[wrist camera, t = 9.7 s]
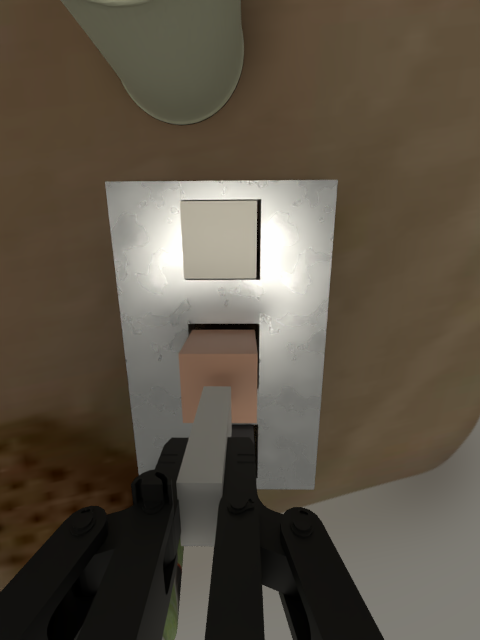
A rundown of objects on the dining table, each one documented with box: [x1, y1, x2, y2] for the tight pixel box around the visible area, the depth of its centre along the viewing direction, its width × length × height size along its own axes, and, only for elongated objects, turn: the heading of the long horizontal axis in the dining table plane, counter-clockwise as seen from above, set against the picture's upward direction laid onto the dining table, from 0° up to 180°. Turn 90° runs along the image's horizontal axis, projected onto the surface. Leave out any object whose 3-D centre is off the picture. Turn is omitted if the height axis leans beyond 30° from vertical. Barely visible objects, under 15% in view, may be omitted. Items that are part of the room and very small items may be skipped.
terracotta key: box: [178, 330, 258, 423], centre depth 21 cm, size 5×5×5 cm
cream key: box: [180, 201, 257, 279], centre depth 21 cm, size 5×5×5 cm
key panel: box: [105, 180, 338, 489], centre depth 25 cm, size 16×26×3 cm, turn 0°
